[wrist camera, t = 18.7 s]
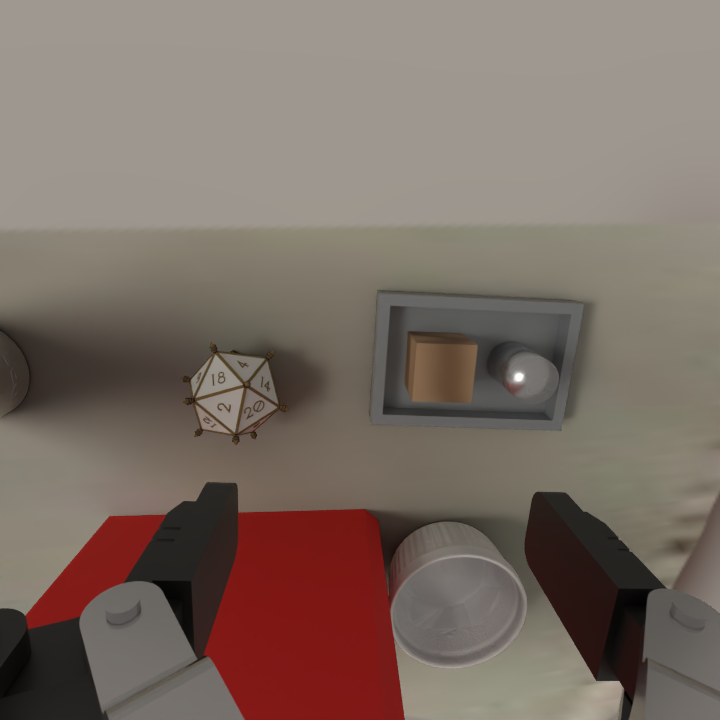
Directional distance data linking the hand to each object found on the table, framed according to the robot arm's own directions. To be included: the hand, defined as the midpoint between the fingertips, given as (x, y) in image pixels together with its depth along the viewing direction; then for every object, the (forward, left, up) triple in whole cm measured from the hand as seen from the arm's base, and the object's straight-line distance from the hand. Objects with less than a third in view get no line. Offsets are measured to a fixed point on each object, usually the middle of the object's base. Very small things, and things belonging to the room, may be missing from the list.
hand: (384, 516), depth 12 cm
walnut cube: (+8, -3, -29) cm, 31 cm away
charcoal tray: (+11, -3, -30) cm, 32 cm away
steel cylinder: (+15, -3, -29) cm, 33 cm away
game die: (-10, -6, -30) cm, 32 cm away
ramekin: (+11, -26, -30) cm, 41 cm away
